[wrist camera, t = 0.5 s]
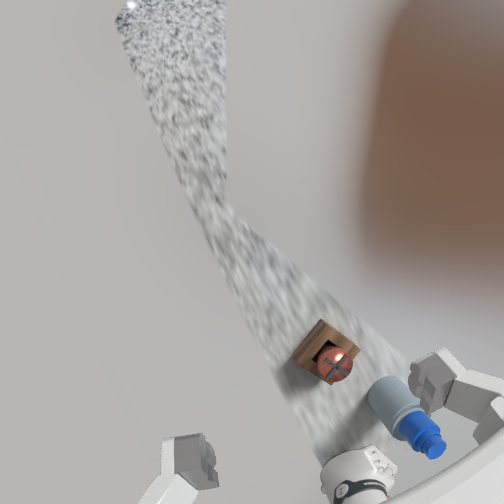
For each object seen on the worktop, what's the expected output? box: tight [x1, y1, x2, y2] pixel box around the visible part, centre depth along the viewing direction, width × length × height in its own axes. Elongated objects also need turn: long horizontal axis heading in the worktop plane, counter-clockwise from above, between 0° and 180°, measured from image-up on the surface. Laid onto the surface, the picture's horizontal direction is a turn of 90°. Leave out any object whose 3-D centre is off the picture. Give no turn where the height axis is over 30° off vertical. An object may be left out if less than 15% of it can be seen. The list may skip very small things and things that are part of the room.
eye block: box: [293, 319, 361, 385], centre depth 57 cm, size 9×9×5 cm
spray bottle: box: [368, 376, 446, 459], centre depth 47 cm, size 9×9×25 cm
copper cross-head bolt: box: [317, 340, 353, 382], centre depth 54 cm, size 6×6×11 cm
